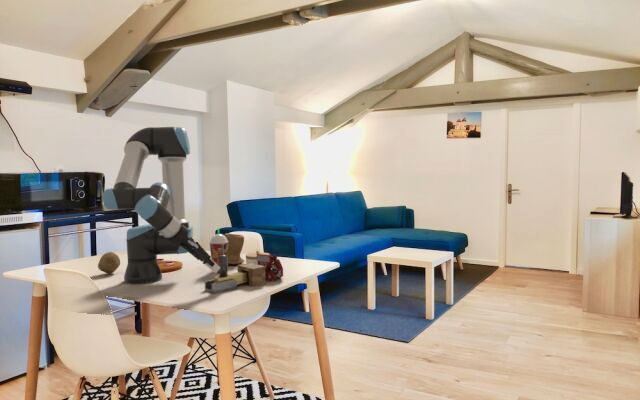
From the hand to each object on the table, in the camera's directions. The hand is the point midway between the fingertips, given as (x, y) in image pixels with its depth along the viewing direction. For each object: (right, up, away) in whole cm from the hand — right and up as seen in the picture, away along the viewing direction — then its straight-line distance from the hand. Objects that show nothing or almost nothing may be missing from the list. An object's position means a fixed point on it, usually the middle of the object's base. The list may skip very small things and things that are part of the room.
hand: (217, 270), depth 176 cm
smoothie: (-6, -6, +34) cm, 35 cm away
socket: (+11, -7, +11) cm, 17 cm away
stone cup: (-5, -5, +52) cm, 53 cm away
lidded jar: (+11, -6, +32) cm, 35 cm away
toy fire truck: (+18, -7, +17) cm, 26 cm away
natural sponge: (-57, -7, +35) cm, 67 cm away
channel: (+1, -8, +2) cm, 8 cm away
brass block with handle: (+4, -6, +5) cm, 9 cm away
